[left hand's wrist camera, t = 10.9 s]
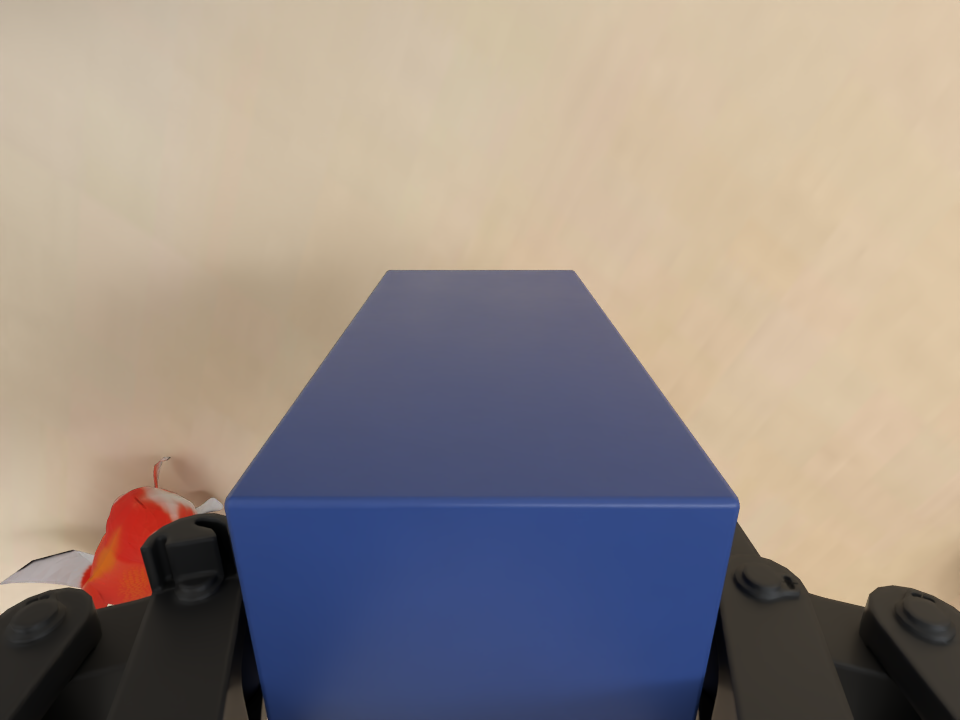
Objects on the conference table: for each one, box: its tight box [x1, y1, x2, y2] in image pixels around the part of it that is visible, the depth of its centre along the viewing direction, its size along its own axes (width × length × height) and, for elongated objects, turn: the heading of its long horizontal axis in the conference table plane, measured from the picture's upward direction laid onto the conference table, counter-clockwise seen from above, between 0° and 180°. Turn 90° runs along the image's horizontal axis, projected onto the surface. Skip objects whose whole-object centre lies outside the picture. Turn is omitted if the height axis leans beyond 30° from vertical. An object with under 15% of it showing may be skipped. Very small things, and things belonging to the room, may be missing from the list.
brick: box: [224, 270, 740, 720], centre depth 12 cm, size 5×7×11 cm
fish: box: [0, 457, 223, 609], centre depth 30 cm, size 11×16×10 cm
